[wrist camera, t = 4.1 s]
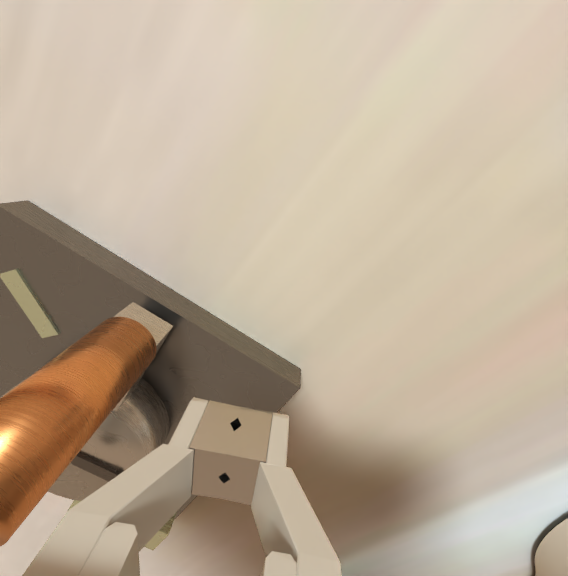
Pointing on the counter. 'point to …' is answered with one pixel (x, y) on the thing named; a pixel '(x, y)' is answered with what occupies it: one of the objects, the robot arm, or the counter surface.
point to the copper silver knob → (81, 416)
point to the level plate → (107, 303)
